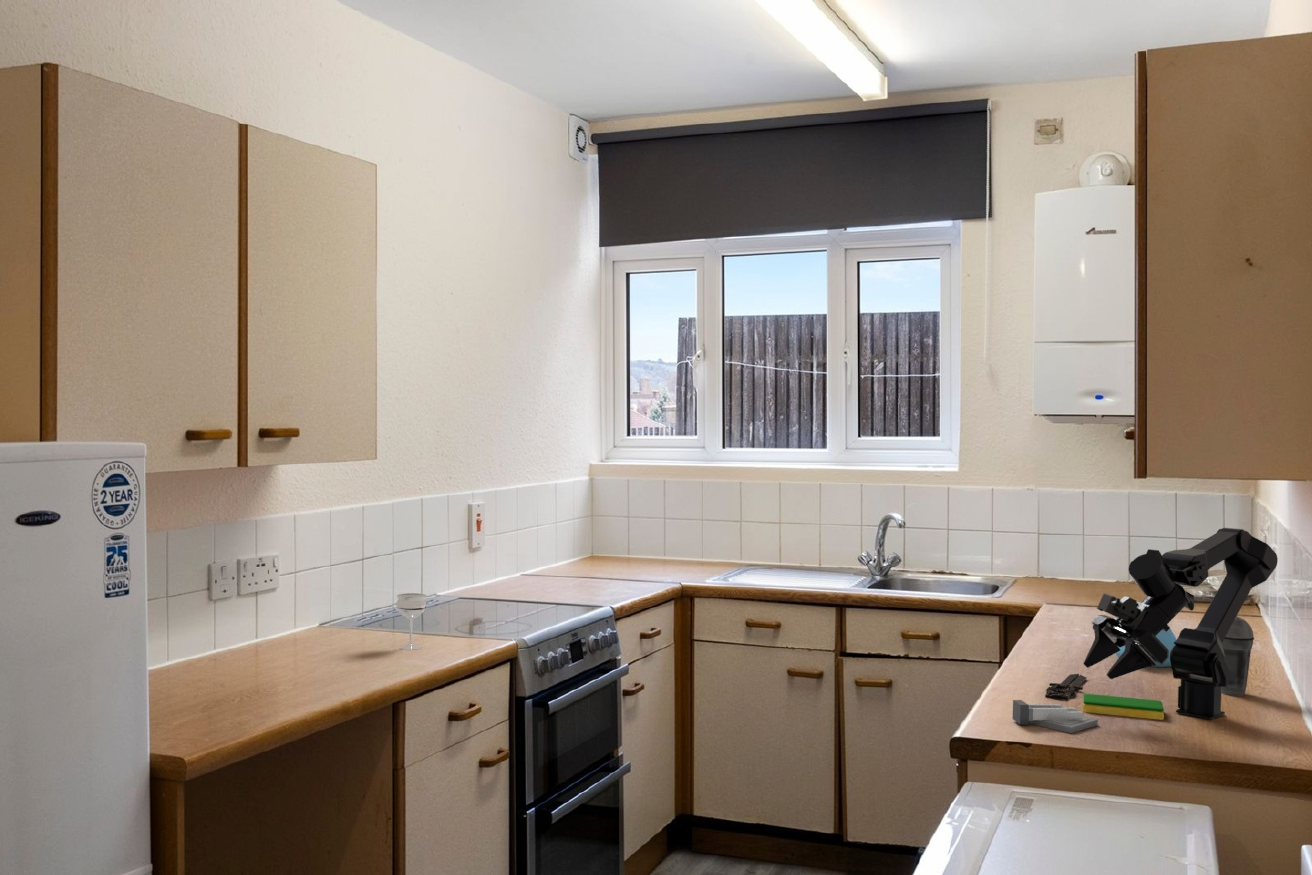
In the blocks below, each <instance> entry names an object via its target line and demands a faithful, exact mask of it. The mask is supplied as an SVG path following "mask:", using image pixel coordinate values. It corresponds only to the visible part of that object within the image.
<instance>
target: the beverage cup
mask: <svg viewBox="0 0 1312 875" xmlns="http://www.w3.org/2000/svg"><path fill="white" fill-rule="evenodd" d="M1254 640H1255V637H1254V631H1253V629H1252V627H1251V625H1250V624H1249V622H1247V621H1246V620H1245V619H1244V618H1242V617H1238V615H1237V616H1236V618H1235V620H1234V622H1233V623H1232V625H1231V627H1230V629H1229V631H1228V633H1227V635H1226V636H1225V638H1224V640H1223V642H1222V646H1223V650H1224V655H1225V658H1224V662H1225V663H1226V665H1227V667H1228V668H1229V670H1230V672H1231V678H1230V683H1229V684H1228V685H1227V687H1221V694H1224V695H1228V696H1233V697H1236V696H1237V697H1242V696H1245V695H1246V690H1247V687H1248V686H1247V685H1248V678H1249V670H1250V661H1251V653H1252V649H1253V647H1254V646H1253V645H1254Z"/></svg>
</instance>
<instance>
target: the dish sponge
mask: <svg viewBox="0 0 1312 875" xmlns="http://www.w3.org/2000/svg"><path fill="white" fill-rule="evenodd" d="M1082 696H1083V698H1082V700H1083V701H1082V707H1083V708H1082V712H1083V713H1084V712H1085V713H1090V714H1091V713H1092V714H1102V715H1103V714H1104V715H1110V716H1111V715H1112V716H1121V717H1122V716H1123V717H1130V718H1131V717H1132V718H1140V719H1141V718H1142V719H1151V720H1153V719H1154V720H1161V721H1162V720H1164V719H1165V718H1164V717H1165V716H1164V714H1165V710H1164V709H1165V708H1164V706H1163V702H1162V701H1161V700H1158V699H1157V700H1156V699H1155V700H1154V699H1145V698H1135V697H1127V696H1126V697H1124V696H1114V695H1104V694H1093V693H1092V694H1091V693H1083V695H1082Z"/></svg>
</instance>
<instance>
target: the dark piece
mask: <svg viewBox="0 0 1312 875" xmlns="http://www.w3.org/2000/svg"><path fill="white" fill-rule="evenodd" d="M1086 679H1087V677H1086V676H1084V675H1082V674H1079V673H1073V674H1069V675H1067V677H1065V678H1064V679H1063V680H1062V681H1061V682H1060V683H1057V682H1049V686H1048V687H1047V688H1046V690H1045V693H1046V694H1045V695H1044V696H1045V697H1044V698H1046V699H1052V700H1059V701H1068V699H1069V696H1070V698H1071V699H1073V698H1074V697H1075V695H1076V693H1082V691H1083V689H1084V687H1082V686H1081V685H1082V684H1083V683H1084V682H1085V681H1086Z"/></svg>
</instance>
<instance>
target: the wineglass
mask: <svg viewBox="0 0 1312 875" xmlns="http://www.w3.org/2000/svg"><path fill="white" fill-rule="evenodd" d="M426 596H427V595H426V594H425V593H416V592H415V593H413V592H409V593H399V594H397V595H396V598H397V600H396V603H395V605H396V606H395V607H396V610H397V611H398V613H399V614H400V615H401V616H403V617H404V618H407V621H409V623H408V624H409V643H408V644H405V645H402V646H399V649H401V650H404V651H405V650H406V651H407V650H408V651H409V650H410V651H411V650H412V651H413V650H420V649H421V648H422V646H420V645H417V644H415V643H412V642H413V640H412V639H413V623H414V622H413V621H414V620H415V619H416V618H417V617H420V616H421V615H422V614H423V612H425V610H426V608H427V602H426Z"/></svg>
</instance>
